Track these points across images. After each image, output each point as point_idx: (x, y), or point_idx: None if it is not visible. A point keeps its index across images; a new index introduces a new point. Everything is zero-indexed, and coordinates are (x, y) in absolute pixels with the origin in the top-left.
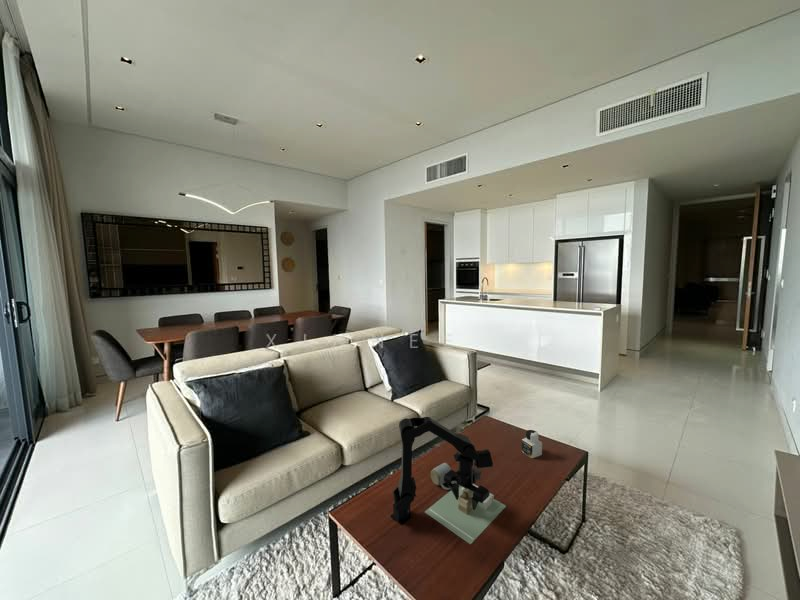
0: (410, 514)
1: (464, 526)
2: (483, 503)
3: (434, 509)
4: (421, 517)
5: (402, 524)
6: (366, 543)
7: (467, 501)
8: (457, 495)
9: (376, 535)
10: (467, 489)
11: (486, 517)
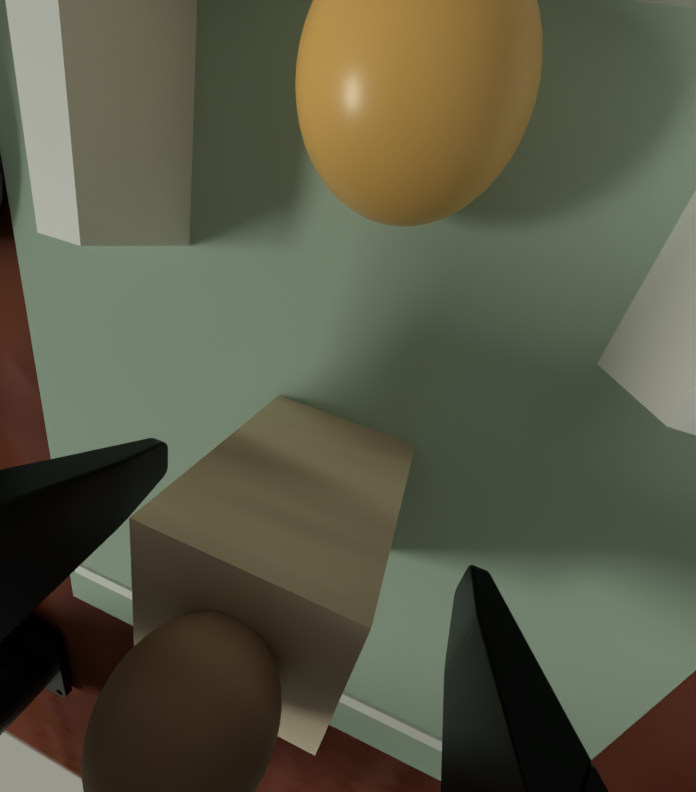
0: (37, 635)
1: (410, 683)
2: (662, 417)
3: (102, 560)
4: (97, 625)
5: (68, 692)
6: (58, 759)
7: (318, 737)
8: (103, 509)
9: (50, 731)
10: (145, 36)
11: (683, 532)
